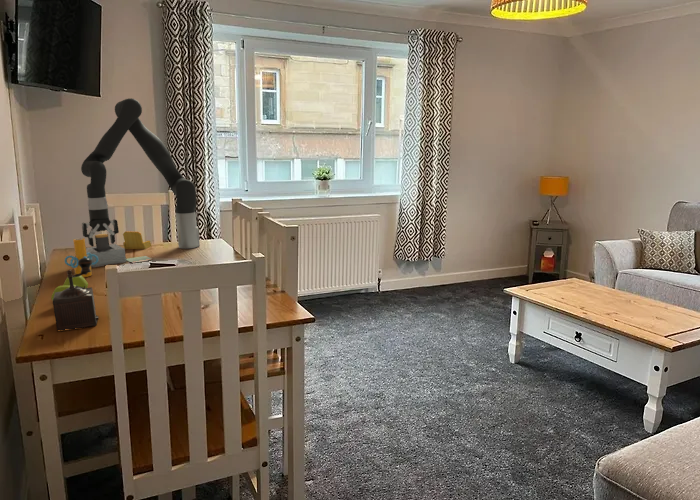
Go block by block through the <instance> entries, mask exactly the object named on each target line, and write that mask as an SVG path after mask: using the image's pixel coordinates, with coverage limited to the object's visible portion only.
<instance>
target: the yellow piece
mask: <svg viewBox="0 0 700 500" xmlns="http://www.w3.org/2000/svg"><path fill="white" fill-rule="evenodd" d="M122 236H123V243H122V244H123V248H124V249H125V250H146V249H148V248H151V247H152V243H151V241H150V240H146V241H143V236H142V233H141V232H140V231H135V230H133V231H131V230H130V231H129V230H128V231H124V232H123V234H122Z"/></svg>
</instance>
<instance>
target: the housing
mask: <svg viewBox="0 0 700 500" xmlns="http://www.w3.org/2000/svg"><path fill="white" fill-rule="evenodd" d="M109 247H110V249H108V250H101V251H97V249H96V245H94V246H93V247H92V246H90V247H89V246H87V247H86V253H88V252H89V253H91V254H94V255H96V256H97V257H98V262H97V263H96V264H94V265H91V269H92V268H98V267H99V268H100V267H104V265H105V266H109V265H108V264H112V265H116V264H123V263H127V261H126V259H127V258H126V257H127V256H126V249H125V248H124V247H122V246H120V245H118V244H117V243H114V244H112V243H111V244H110V243H109ZM88 256H89V254H88V255H87V257H88ZM89 259H90V258H89ZM94 262H96V258H95V257H94V256H92V263H94Z"/></svg>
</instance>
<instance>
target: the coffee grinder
mask: <svg viewBox="0 0 700 500" xmlns="http://www.w3.org/2000/svg"><path fill="white" fill-rule="evenodd" d="M91 264H92V260H91V259H89V258H82V259H80V260H79V261H78V265H79V266H80V267H81V268H82V270H81V273H80V274H75V273H74V274H73V271H72V270H71V269H68V270H67V271H66V274H67V277H68V278H69V282H70V287H69V288H67V289H65V290H63V291H61V292H55V295H54V298H53V301H52V306H53V313H54V317H55V325H56V331H57V330H65V329H75V328H82V329H85V328H84V327H88V328H93V327H92V326H94V327H96V326H97V324H98V321H99V318H100V317H99V315H97V314H96V313H97V312H96V305H95V298H94V296H95V295H94V290H93V287H92V286H91V287H87V288H85V286H84V288H83V287H78V286H75V287H74V285H73V280H72V278H73V277H79V276H81V275H83V274H85V275H86V274H87V273H89V272H91V270H92V269H91V270H90V266H91ZM75 330H76V329H75Z"/></svg>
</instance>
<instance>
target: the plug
mask: <svg viewBox="0 0 700 500" xmlns="http://www.w3.org/2000/svg"><path fill="white" fill-rule="evenodd" d="M94 239H95V240H94V241H95V246H96V249H97V251H101V250H108V249H110V247H109V245H110V237H109V234H108V233H100V234H94Z"/></svg>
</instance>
